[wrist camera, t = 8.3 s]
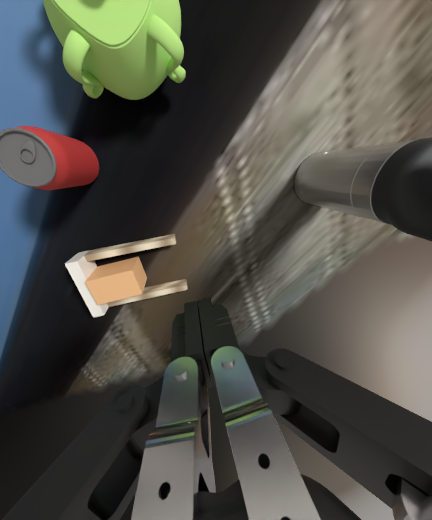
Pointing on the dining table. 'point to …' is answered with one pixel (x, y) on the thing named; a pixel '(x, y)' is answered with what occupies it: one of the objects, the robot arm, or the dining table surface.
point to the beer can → (46, 159)
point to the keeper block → (117, 281)
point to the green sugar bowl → (119, 43)
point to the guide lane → (136, 247)
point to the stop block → (79, 274)
